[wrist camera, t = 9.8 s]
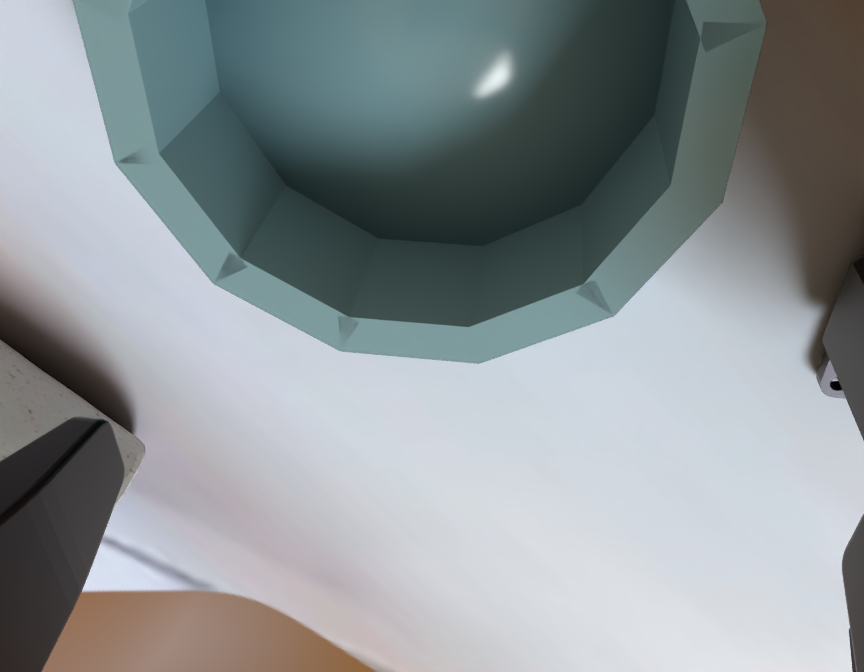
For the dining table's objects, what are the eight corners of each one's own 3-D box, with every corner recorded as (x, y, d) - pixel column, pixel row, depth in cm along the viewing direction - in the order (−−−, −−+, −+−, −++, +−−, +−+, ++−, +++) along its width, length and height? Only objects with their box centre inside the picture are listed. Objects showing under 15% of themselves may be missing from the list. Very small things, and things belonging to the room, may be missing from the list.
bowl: (780, -312, 14) (854, -330, 10) (659, 272, 21) (677, 381, 17) (125, -310, 15) (-12, -325, 11) (224, 240, 22) (159, 335, 19)
